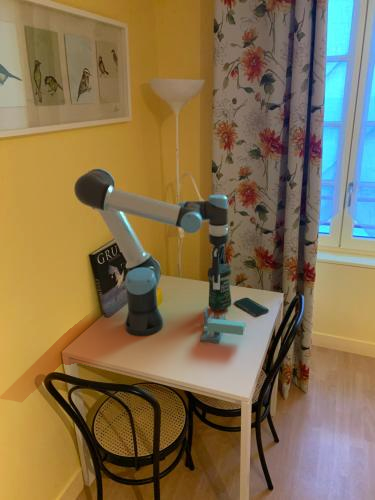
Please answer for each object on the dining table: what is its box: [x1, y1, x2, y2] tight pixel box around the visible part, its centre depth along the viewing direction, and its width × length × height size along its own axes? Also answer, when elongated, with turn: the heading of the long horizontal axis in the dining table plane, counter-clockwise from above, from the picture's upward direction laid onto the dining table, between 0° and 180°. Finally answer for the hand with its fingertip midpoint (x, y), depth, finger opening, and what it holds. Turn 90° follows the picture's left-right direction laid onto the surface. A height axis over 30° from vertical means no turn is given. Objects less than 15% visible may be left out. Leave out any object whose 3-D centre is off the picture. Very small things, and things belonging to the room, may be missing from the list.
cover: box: [203, 317, 246, 336], centre depth 149 cm, size 14×7×4 cm, turn 74°
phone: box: [233, 297, 270, 318], centre depth 174 cm, size 8×1×15 cm
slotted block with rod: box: [200, 306, 226, 345], centre depth 157 cm, size 8×16×7 cm, turn 164°
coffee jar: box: [207, 264, 232, 312], centre depth 170 cm, size 10×8×19 cm
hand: (219, 283), depth 170 cm, fingers open, 10 cm apart
